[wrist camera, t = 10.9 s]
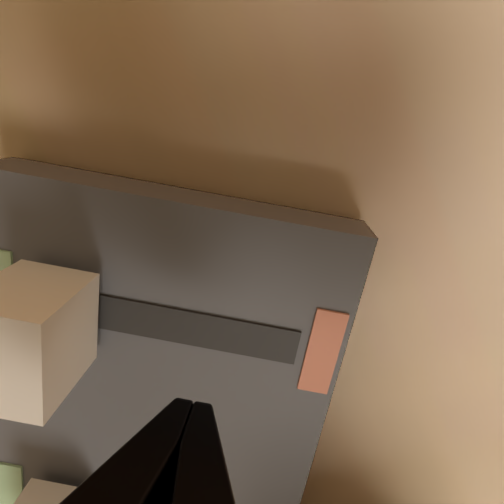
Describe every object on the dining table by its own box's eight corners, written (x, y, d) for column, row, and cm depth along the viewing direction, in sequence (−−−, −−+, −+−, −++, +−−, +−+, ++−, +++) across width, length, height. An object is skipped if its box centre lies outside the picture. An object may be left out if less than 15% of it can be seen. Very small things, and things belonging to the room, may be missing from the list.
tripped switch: (99, 273, 12) (40, 324, 9) (96, 357, 13) (42, 426, 10) (21, 259, 12) (-62, 305, 9) (24, 343, 13) (-50, 409, 10)
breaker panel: (364, 220, 13) (378, 239, 11) (244, 652, 21) (241, 707, 19) (13, 157, 13) (-35, 164, 11) (32, 611, 22) (7, 660, 20)
